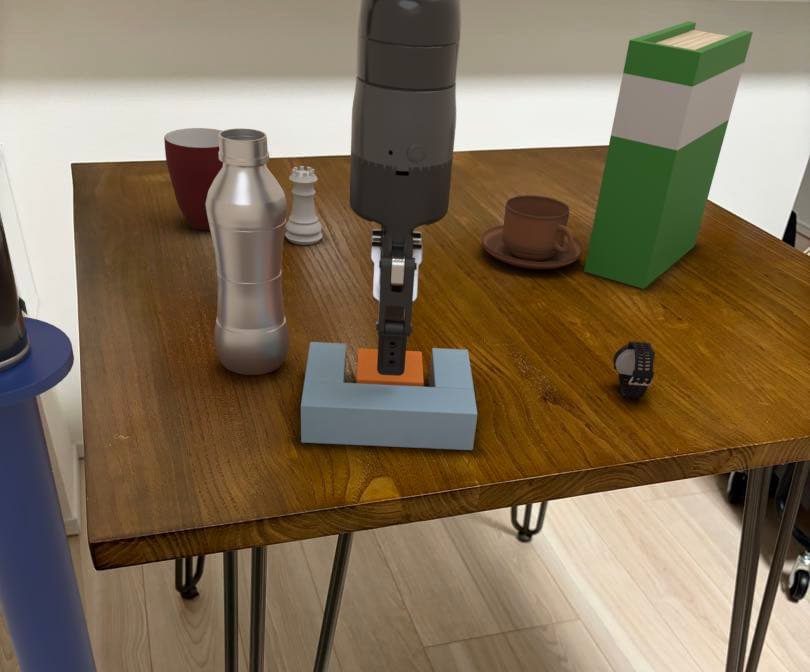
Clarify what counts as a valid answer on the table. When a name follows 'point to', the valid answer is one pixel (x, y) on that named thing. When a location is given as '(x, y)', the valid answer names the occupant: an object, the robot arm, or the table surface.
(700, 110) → the hardback book
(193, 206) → the mug
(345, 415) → the light blue u-shaped block
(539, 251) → the cup and saucer
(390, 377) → the orange block
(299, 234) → the rook chess piece
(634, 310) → the table surface
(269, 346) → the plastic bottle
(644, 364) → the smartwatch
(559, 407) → the table surface
